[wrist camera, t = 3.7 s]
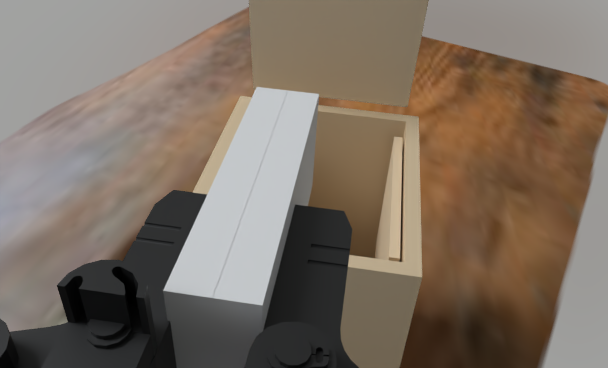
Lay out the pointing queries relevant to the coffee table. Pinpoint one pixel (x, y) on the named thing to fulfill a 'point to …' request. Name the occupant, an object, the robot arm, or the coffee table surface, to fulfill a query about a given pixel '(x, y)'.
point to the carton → (364, 220)
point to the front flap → (337, 47)
